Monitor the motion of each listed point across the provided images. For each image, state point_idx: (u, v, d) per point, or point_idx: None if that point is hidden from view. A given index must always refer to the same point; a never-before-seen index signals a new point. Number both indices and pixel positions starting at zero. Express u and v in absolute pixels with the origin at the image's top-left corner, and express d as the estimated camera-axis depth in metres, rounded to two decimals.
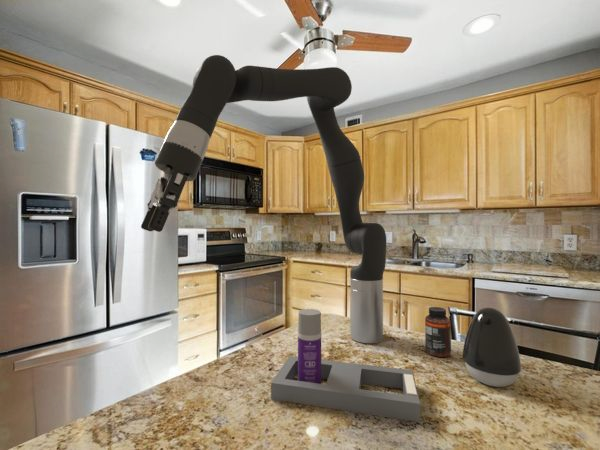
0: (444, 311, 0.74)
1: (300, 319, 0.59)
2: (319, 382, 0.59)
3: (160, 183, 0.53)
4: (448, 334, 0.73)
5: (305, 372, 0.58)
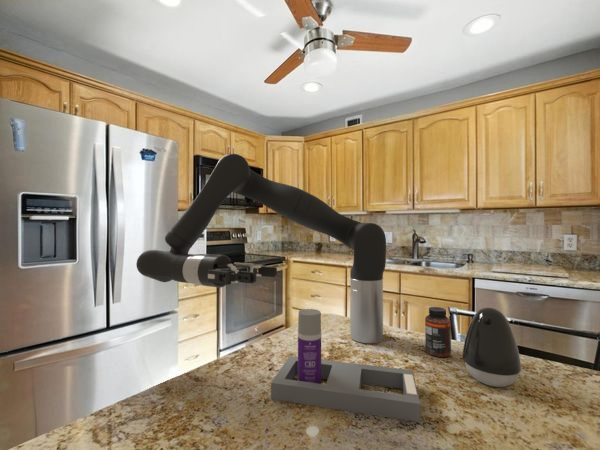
0: (444, 311, 0.74)
1: (300, 319, 0.59)
2: (319, 382, 0.59)
3: None
4: (448, 334, 0.73)
5: (305, 372, 0.58)
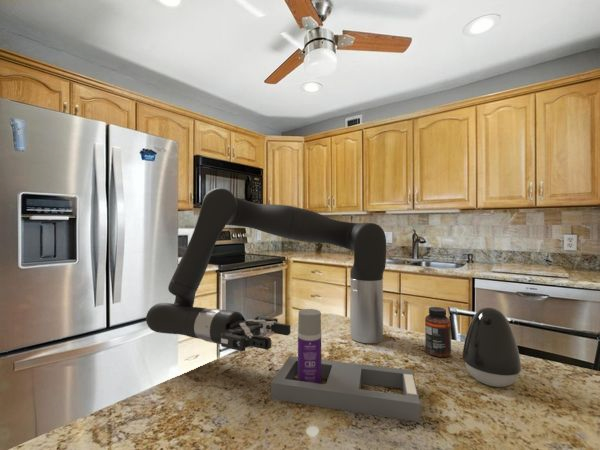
0: (444, 311, 0.74)
1: (300, 319, 0.59)
2: (319, 382, 0.59)
3: None
4: (448, 334, 0.73)
5: (305, 372, 0.58)
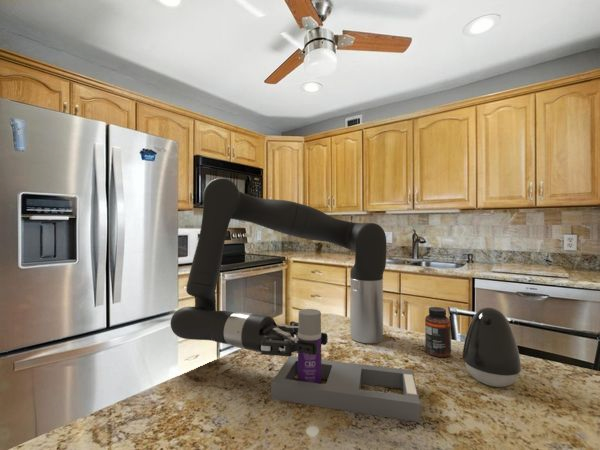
0: (444, 311, 0.74)
1: (300, 318, 0.59)
2: (319, 382, 0.59)
3: (278, 348, 0.61)
4: (448, 334, 0.73)
5: (305, 372, 0.58)
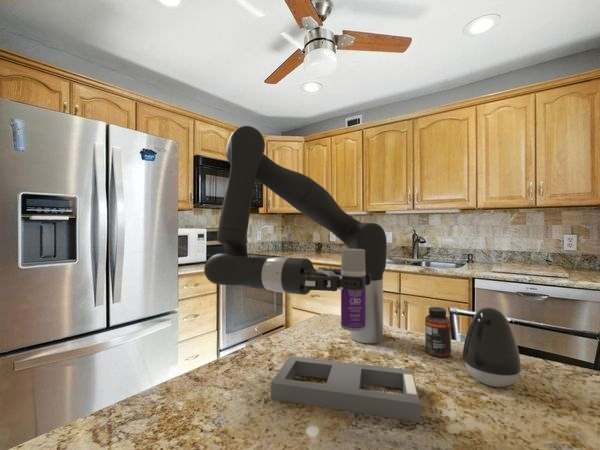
0: (444, 311, 0.74)
1: (344, 255, 0.57)
2: (364, 321, 0.56)
3: None
4: (448, 334, 0.73)
5: (350, 310, 0.56)
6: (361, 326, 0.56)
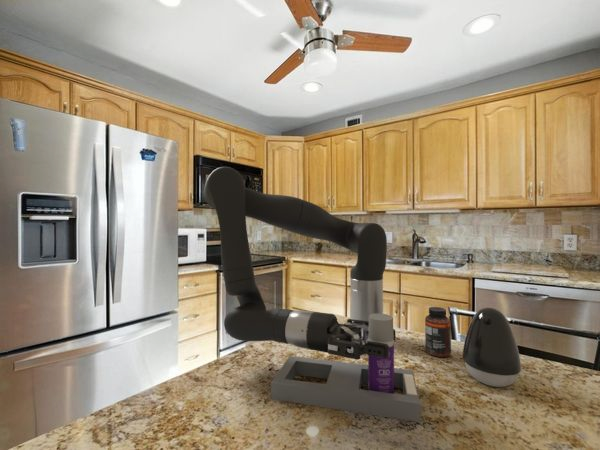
0: (444, 311, 0.74)
1: (372, 324, 0.55)
2: (393, 391, 0.55)
3: None
4: (448, 334, 0.73)
5: (379, 381, 0.54)
6: None
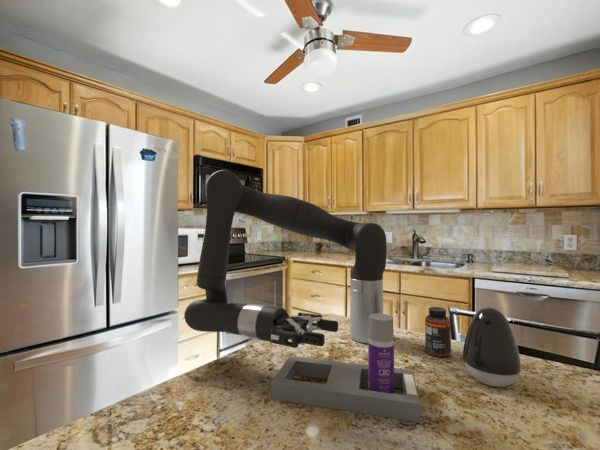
0: (444, 311, 0.74)
1: (373, 324, 0.55)
2: (393, 391, 0.55)
3: None
4: (448, 334, 0.73)
5: (379, 381, 0.54)
6: None
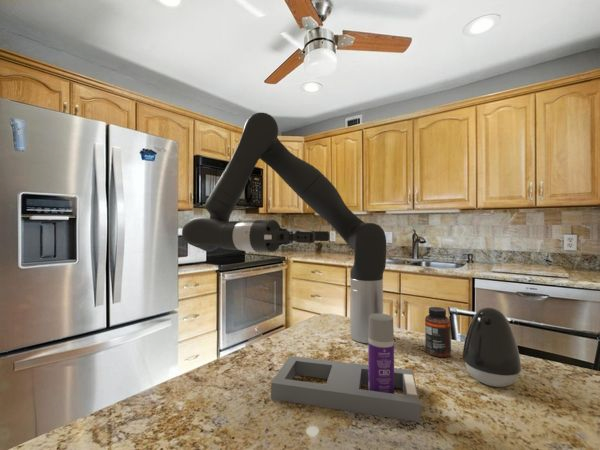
0: (444, 311, 0.74)
1: (373, 324, 0.55)
2: (393, 391, 0.55)
3: (282, 244, 0.65)
4: (448, 334, 0.73)
5: (379, 381, 0.54)
6: None
